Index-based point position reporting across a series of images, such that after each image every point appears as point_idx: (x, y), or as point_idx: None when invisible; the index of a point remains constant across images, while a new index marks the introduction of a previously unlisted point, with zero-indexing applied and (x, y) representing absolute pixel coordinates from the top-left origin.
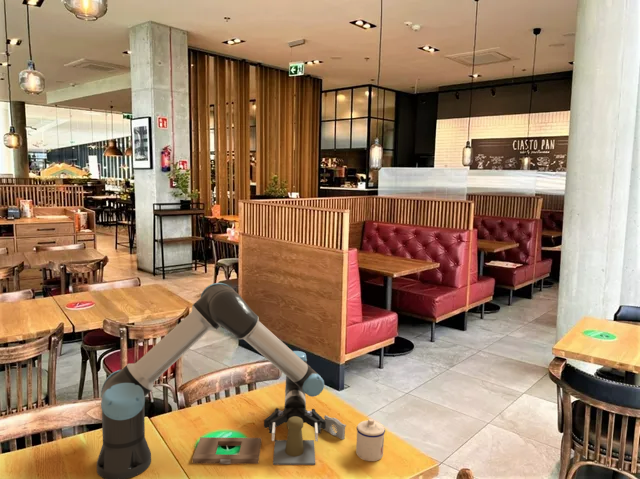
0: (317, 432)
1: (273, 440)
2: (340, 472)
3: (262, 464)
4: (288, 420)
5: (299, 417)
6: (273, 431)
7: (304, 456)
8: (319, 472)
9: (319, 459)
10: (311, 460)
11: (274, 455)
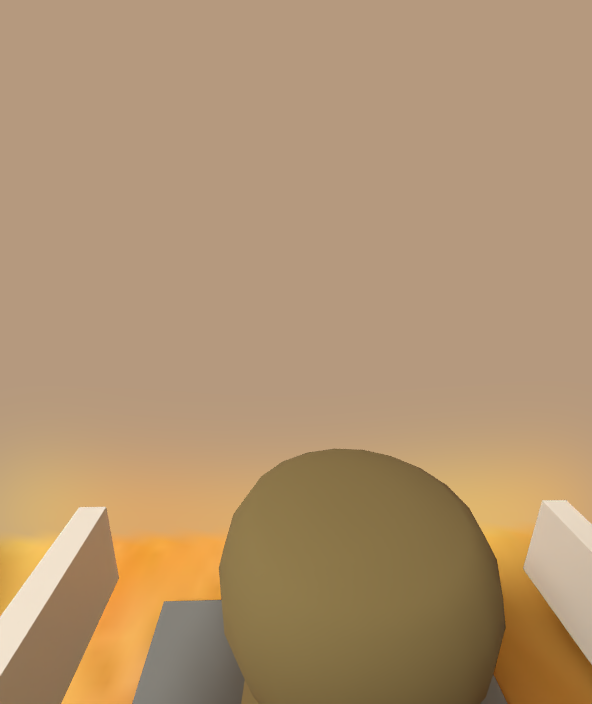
0: (76, 518)
1: (530, 564)
2: (44, 546)
3: (522, 605)
4: (462, 501)
5: (288, 556)
6: (572, 521)
7: (229, 694)
8: (165, 543)
9: (102, 692)
10: (183, 633)
11: (498, 700)
